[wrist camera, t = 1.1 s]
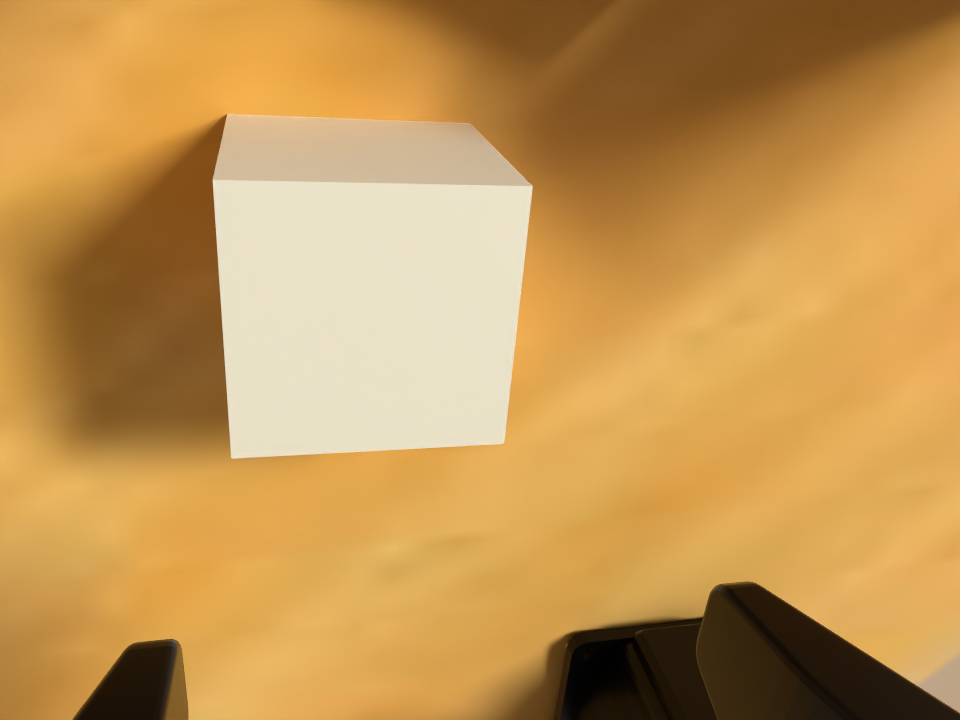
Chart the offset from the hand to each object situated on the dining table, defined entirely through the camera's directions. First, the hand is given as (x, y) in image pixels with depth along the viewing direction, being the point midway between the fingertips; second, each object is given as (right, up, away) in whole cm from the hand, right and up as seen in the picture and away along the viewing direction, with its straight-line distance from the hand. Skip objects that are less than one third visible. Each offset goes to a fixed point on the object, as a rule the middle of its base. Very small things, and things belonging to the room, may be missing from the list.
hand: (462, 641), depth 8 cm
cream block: (-3, +6, +10) cm, 12 cm away
